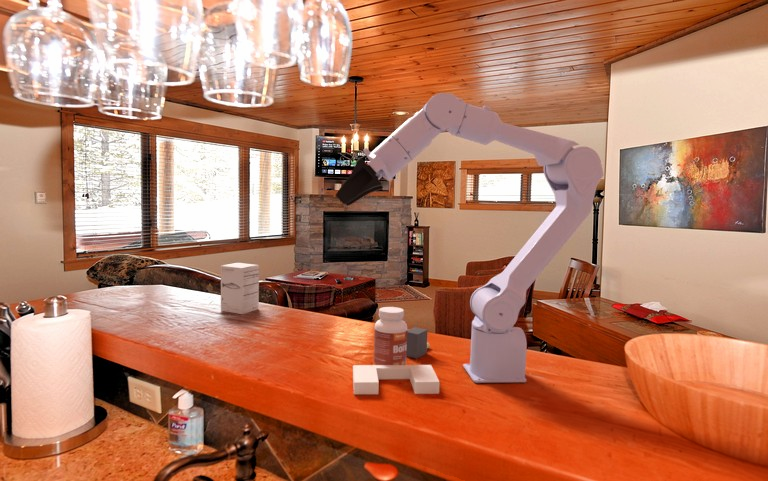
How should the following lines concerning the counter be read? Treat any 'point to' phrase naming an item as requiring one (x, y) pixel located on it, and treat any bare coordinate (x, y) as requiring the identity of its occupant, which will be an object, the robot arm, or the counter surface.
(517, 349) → the robot arm
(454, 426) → the counter surface
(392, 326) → the pill bottle
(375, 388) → the notched board
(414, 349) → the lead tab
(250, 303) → the supplement box
